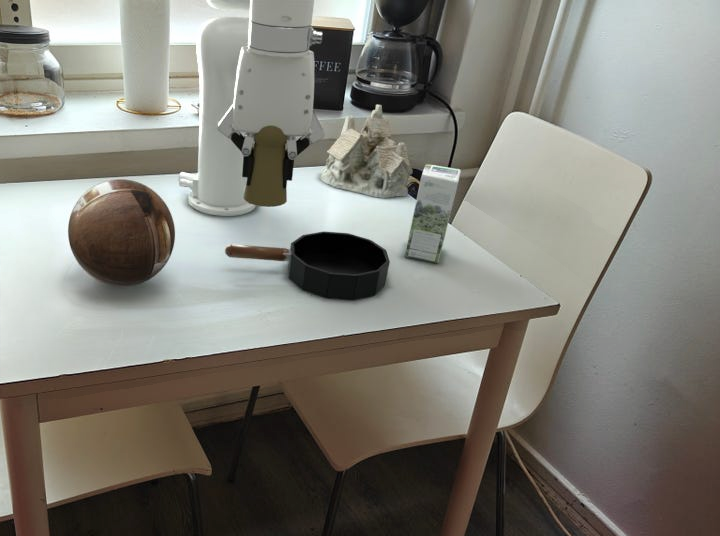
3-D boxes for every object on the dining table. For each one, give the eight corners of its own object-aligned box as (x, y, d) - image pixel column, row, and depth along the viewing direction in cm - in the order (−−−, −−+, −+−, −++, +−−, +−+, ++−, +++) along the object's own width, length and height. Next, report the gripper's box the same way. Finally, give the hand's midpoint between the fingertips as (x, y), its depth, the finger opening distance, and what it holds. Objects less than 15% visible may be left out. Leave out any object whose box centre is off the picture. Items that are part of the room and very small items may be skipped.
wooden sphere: (54, 271, 106) (45, 174, 98) (141, 250, 114) (139, 158, 106) (102, 315, 97) (97, 212, 89) (193, 288, 105) (197, 191, 96)
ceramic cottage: (313, 170, 150) (327, 98, 141) (384, 171, 154) (402, 102, 145) (338, 203, 139) (354, 127, 129) (414, 203, 143) (435, 130, 134)
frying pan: (221, 290, 105) (222, 265, 103) (226, 247, 117) (227, 224, 115) (390, 303, 105) (395, 278, 103) (377, 258, 117) (381, 235, 115)
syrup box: (441, 250, 122) (462, 167, 113) (438, 264, 117) (459, 179, 109) (408, 244, 123) (425, 161, 115) (403, 258, 118) (421, 173, 110)
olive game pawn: (283, 209, 95) (292, 126, 89) (239, 203, 96) (244, 120, 90) (289, 193, 100) (298, 114, 94) (247, 188, 101) (253, 108, 95)
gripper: (344, 38, 90) (325, 178, 100) (212, 28, 90) (207, 170, 100) (350, 49, 84) (329, 198, 94) (208, 39, 84) (203, 189, 94)
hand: (266, 182), depth 97 cm, fingers closed on olive game pawn, 4 cm apart
